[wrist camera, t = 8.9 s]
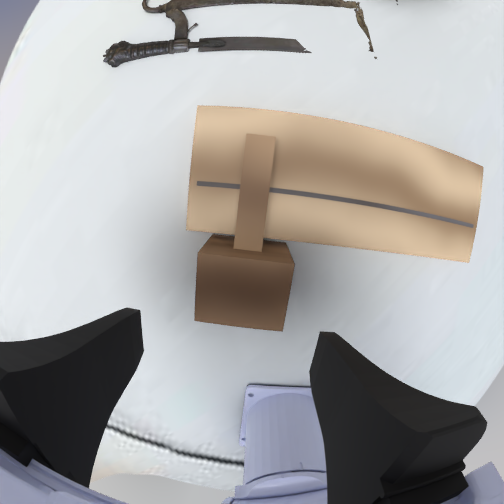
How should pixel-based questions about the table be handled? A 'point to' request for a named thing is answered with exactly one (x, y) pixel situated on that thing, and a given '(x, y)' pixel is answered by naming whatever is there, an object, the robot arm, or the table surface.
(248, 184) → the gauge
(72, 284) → the table surface
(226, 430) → the table surface
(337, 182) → the board
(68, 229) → the table surface
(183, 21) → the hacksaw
